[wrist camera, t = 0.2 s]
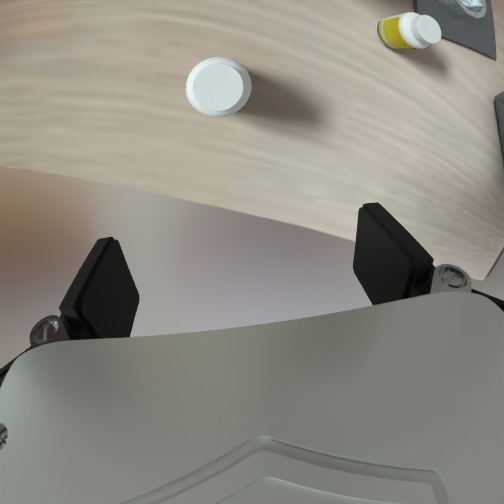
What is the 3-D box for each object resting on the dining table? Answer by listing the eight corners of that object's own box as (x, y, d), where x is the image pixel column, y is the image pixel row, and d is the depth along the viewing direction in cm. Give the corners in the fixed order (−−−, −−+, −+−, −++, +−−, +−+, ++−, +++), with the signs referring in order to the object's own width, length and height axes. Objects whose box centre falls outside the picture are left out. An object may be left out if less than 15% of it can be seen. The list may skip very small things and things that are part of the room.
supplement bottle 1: (205, 55, 31) (196, 43, 20) (253, 71, 33) (266, 66, 22) (187, 101, 34) (171, 110, 24) (234, 116, 36) (239, 131, 25)
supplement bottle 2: (390, 56, 32) (430, 56, 24) (367, 28, 29) (404, 20, 21) (410, 39, 30) (451, 37, 22) (389, 12, 28) (428, 3, 19)
